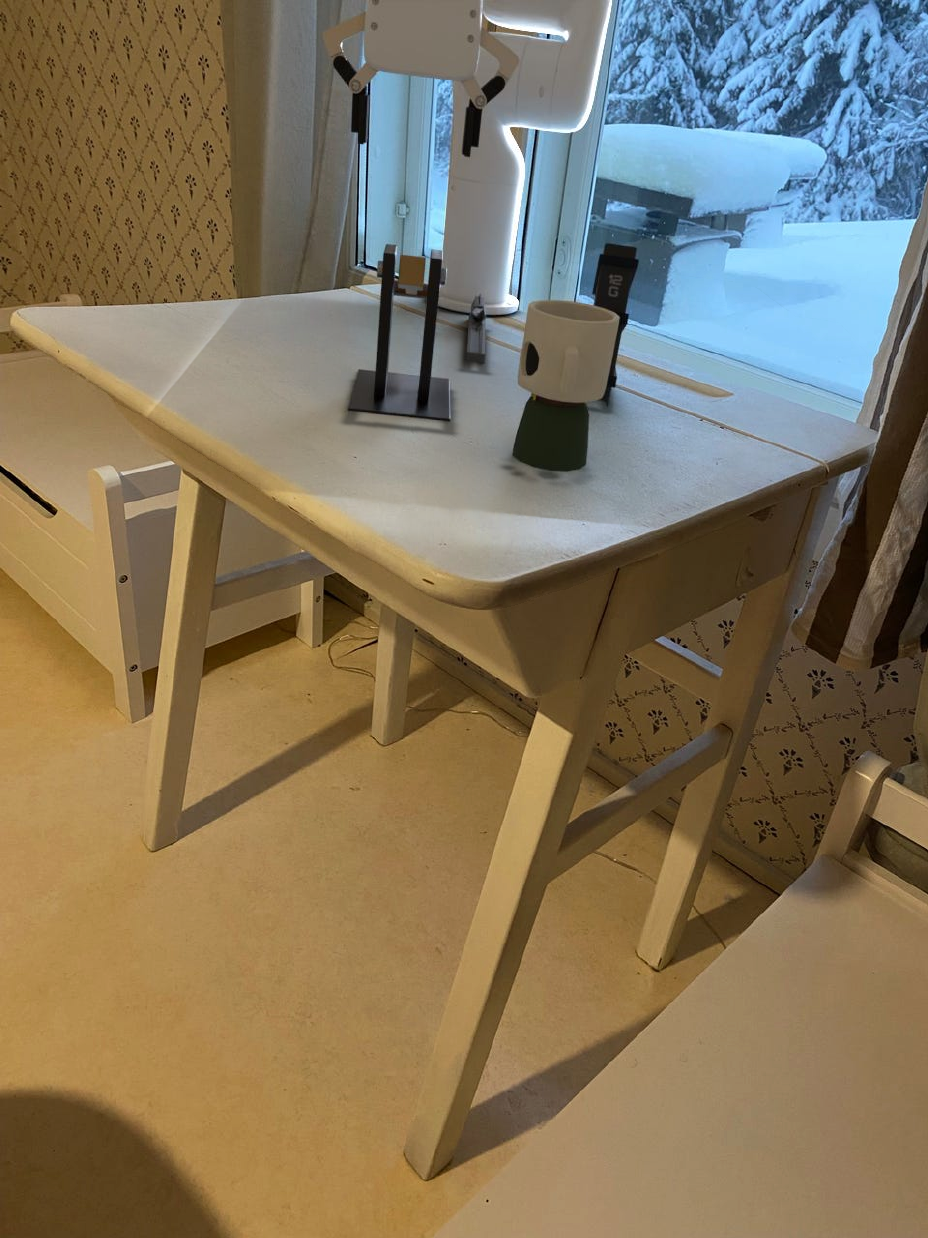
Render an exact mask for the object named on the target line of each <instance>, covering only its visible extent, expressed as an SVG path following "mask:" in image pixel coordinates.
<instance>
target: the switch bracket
mask: <svg viewBox="0 0 928 1238" xmlns="http://www.w3.org/2000/svg"><path fill="white" fill-rule="evenodd" d="M442 250H443V249H441V250H440V249H433V248H431V249H430V259H429V269H428V270H429V271H428V279H427V284H428V289H427V299H425V300H426V302H425V314H424V324H423V333H422V334H423V335H422V344H421V345H422V346H421V357H420V367H419V375H416V374H407V373H399V372H389V363H390V351H391V336H392V322H393V308H394V298H395V296H394V283H395V280H396V268H397V254H398V245H397V244H390V243H386V244H385V247H384V249H383V253H382V260H378V261H377V265H376V267H377V268H376V278H377V279H381V281H380V297H379V312H378V314H379V315H378V328H377V343H376V357H375V370H370V369H363V368H362V369H361V368H360V369H358V371H357V374H356V378H355V381H354V386H353V389H352V392H351V397H350V400H349V404H348V407H347V411H348V412H355V413H366V414H367V413H368V414H375V415H385V416H393V417H394V416H395V417H405V418H414V419H423V420H432V421H442V422H451V385H450V383H451V382H450V378H445V377H434V376H432V370H433V360H434V348H435V341H436V340H435V339H436V338H435V337H436V329H437V328H436V327H437V320H438V319H437V318H438V310H439V309H438V307H439V306H438V299H439V289H440V285H445V283H446V273H447V269H446V268H442Z"/></svg>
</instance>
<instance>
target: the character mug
mask: <svg viewBox="0 0 928 1238" xmlns="http://www.w3.org/2000/svg"><path fill="white" fill-rule="evenodd" d="M619 318H620V317H619V316H618V315H617V314H616V313H614V312H612V311H609V310H607V309H604V308H601V307H597V306H594V305H593V304H589V303H583V302H578V301H572V300H561V299H539V300H534V301H531V302H529V303H528V305H527V311H526V317H525V324H524V332H523V338H522V343H521V344H522V345H521V349H520V356H519V365H518V372H517V384H518V386H519V387H521V389H523V390H525V391H528V392H529V393H530V396H529V398H528V399H527V401H526V402H525V404H524V408H523V411H522V414H521V417H520V421H519V424H518V428H517V431H516V435H515V440H514V442H513V447H512V450H513V452H512V457H514V458H515V459H516V460H517V461H519V462H520V463H522V464H524V465H527V466H529V467H531V468H534V469H539V470H542V471H543V470H544V471H548V472H562V473H563V472H566V473H567V472H574V471H578V470H581V469H582V468H584V466H586V465H587V457H588V450H589V449H588V448H589V429H590V427H589V426H590V412H589V408H588V405H587V403H591V402H592V403H593V402H596V401H600V400H599V399H602V397H603V395H604V393H605V389H606V386H607V381H608V375H609V370H610V365H611V360H612V355H613V350H614V345H615V340H616V335H617V330H618V325H619Z"/></svg>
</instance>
